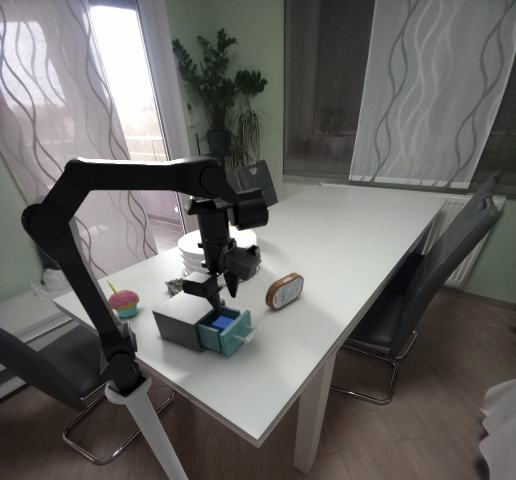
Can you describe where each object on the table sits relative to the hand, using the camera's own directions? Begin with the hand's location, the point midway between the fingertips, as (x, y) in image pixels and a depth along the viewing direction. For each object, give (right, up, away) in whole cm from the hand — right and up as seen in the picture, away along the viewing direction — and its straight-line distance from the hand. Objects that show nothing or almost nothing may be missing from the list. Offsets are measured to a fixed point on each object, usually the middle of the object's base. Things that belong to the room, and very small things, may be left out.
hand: (226, 304), depth 63 cm
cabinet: (-10, -6, +13) cm, 17 cm away
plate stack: (-7, +20, +43) cm, 48 cm away
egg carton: (-18, +8, +30) cm, 36 cm away
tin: (+16, +3, +22) cm, 27 cm away
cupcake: (-33, 0, +22) cm, 39 cm away
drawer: (-1, -8, +8) cm, 11 cm away
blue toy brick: (-1, -7, +7) cm, 10 cm away
